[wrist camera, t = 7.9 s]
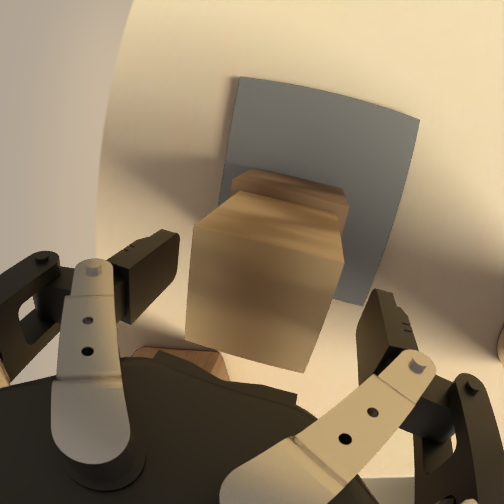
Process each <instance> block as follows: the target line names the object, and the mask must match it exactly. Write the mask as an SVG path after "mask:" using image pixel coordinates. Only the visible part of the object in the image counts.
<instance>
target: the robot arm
mask: <svg viewBox="0 0 504 504" xmlns="http://www.w3.org/2000/svg"><path fill="white" fill-rule="evenodd" d="M179 243H180V236H179V234H177V233H174V232H170V231H167V230H163V229H161V230H159V231H158V232H156V233H155V234H153V235H152V236H150V237H146V238H142V239H139V240H136V241H135V242H133V243H132V244H130V245H129V246H127V247H126V248H124V249H123V250H121V251H119V252H118V253H116V254H115V255H114V256H112V257H111V258H109V259H108V260H103V259H88V260H84V261H82V262H80V263H78V264H77V266H76V267H75V269H74V268H68V267H62V266H60V260H59V256H58V254H56V253H55V252H51V251H40V252H37V253H34V254H32V255H30V256H28V257H27V258H25V259H24V260H22V261H20V262H19V263H17V264H16V265H14V266H13V267H11V268H9V269H8V270H6V271H5V272H3V273H2V274H1V275H0V504H379V503H378V501H377V500H376V499H375V497H374V496H373V495H372V493H371V492H370V490H369V489H368V488H367V487H366V485H365V483H364V482H363V481H362V479H361V478H360V476H359V475H358V473H359V472H360V471H361V470H362V469H363V467H364V466H365V465H366V464H367V463H368V462H369V461H370V460H371V459H372V458H373V457H374V456H375V455H376V453H377V452H378V451H379V450H380V449H381V448H382V447H383V445H384V444H385V443H386V442H387V441H388V440H389V438H390V437H391V436H392V435H393V434H394V432H395V431H396V430H397V429H398V428H400V429H403V430H405V431H407V432H410V433H412V434H413V442H414V465H415V504H504V450H503V446H502V442H501V438H500V434H499V430H498V427H497V423H496V420H495V416H494V413H493V410H492V406H491V403H490V400H489V397H488V394H487V391H486V389H485V387H484V385H483V384H482V382H481V381H480V380H479V379H478V378H476V377H475V376H473V375H471V374H468V373H462V374H459V375H458V376H457V377H456V379H455V380H454V381H453V382H451V381H448V380H446V379H444V378H442V377H439V376H437V375H435V374H436V367H435V365H434V363H433V361H432V360H431V359H430V358H429V357H428V356H426V355H425V354H423V353H422V352H419V350H418V347H417V344H416V340H415V337H414V334H413V333H412V332H413V331H412V328H411V326H410V322H409V319H408V316H407V315H406V314H405V313H404V311H403V310H402V309H401V308H399V307H397V306H396V303H395V300H394V296H393V294H392V293H390V292H387V291H383V290H379V289H376V288H375V289H374V290H373V291H372V293H371V295H370V297H369V299H368V302H367V304H366V306H365V309H364V311H363V313H362V315H361V318H360V320H359V322H358V326H357V330H356V344H357V360H358V380H359V387H358V388H357V389H355V390H354V391H353V392H352V393H351V394H350V395H348V396H347V397H346V398H345V399H343V400H342V401H341V402H340V403H339V404H337V405H336V406H335V407H334V408H332V409H331V410H330V411H328V412H327V413H326V414H325V415H323V416H322V417H321V418H319V419H317V418H316V417H315V416H313V415H312V414H311V413H309V412H308V411H306V410H305V409H303V408H301V407H299V406H297V405H296V400H297V394H295V393H291V392H287V391H283V390H280V389H276V388H272V387H268V386H265V385H259V384H249V383H239V382H231V381H224V380H221V379H219V378H218V377H216V376H214V375H212V374H211V373H209V372H207V371H206V370H204V369H202V368H201V367H199V366H197V365H196V364H194V363H192V362H190V361H188V360H185V359H182V358H180V357H177V356H174V355H172V354H169V353H167V352H164V351H162V350H158V352H157V353H156V354H155V356H154V357H153V358H149V357H124V358H120V351H119V343H118V333H117V323H118V322H119V321H120V320H121V321H123V322H125V323H128V324H130V325H131V324H132V323H133V322H134V321H135V320H136V319H137V318H138V317H139V316H140V315H141V314H142V313H143V312H144V311H145V310H146V308H147V307H148V306H149V305H150V304H151V303H152V302H153V301H154V300H155V299H156V298H157V297H158V296H159V295H160V294H161V293H162V292H163V291H164V290H165V289H166V288H167V287H168V286H169V285H170V284H171V282H172V281H173V280H174V278H175V275H176V272H177V266H178V254H179ZM31 296H33V300H34V304H35V309H34V310H32V311H31V312H30V313H29V314H28V315H27V316H25V317H24V318H23V319H22V320H21V321H19V317H18V312H19V308H20V306H21V305H22V304H23V303H24V302H25V301H27V300H28V299H29V298H30V297H31ZM59 332H60V337H59V348H58V360H57V374H56V375H55V376H51V377H46V378H42V379H38V380H34V381H29V382H25V383H21V384H16V385H11V386H10V382H12V380H13V379H14V378H15V377H16V376H17V375H18V374H19V373H20V372H21V371H22V370H23V369H24V368H25V366H26V365H27V364H28V363H29V362H30V361H31V360H32V359H33V358H34V357H35V356H36V355H37V354H38V353H39V352H40V351H41V350H42V349H43V348H44V347H45V346H46V345H47V343H49V342H50V341H51V340H52V339H53V337H55V336H56V335H57V334H58V333H59ZM497 354H498V357H499V359H500V361H501V363H502V365H503V367H504V327H503V329H502V331H501V334H500V337H499V340H498V345H497ZM454 434H456V440H457V445H456V449H455V451H454V453H453V449H452V442H451V437H452V436H453V435H454Z"/></svg>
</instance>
